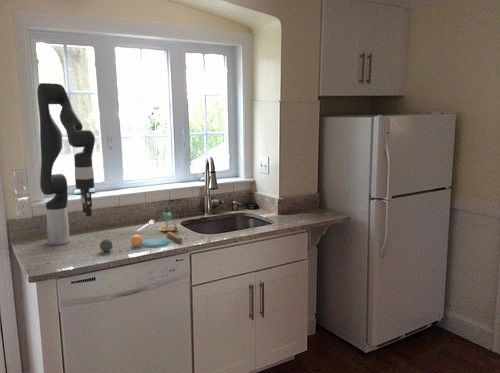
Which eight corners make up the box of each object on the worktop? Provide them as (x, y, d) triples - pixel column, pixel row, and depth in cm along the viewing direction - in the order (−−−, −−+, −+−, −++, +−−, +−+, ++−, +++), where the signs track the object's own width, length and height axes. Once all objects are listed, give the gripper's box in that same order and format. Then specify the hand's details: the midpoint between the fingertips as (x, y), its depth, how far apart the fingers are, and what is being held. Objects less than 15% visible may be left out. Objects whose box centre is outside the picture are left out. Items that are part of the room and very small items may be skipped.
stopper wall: (178, 243, 211) (178, 238, 211) (167, 236, 223) (167, 232, 222) (182, 243, 212) (181, 238, 212) (170, 236, 224) (170, 231, 223)
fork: (134, 232, 234) (134, 228, 234) (150, 222, 253) (149, 219, 253) (140, 232, 233) (140, 228, 233) (155, 222, 253) (155, 219, 252)
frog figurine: (165, 236, 225) (163, 207, 224) (154, 231, 240) (152, 205, 239) (183, 233, 230) (180, 205, 228) (171, 229, 245) (169, 202, 244)
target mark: (145, 249, 203) (145, 249, 203) (136, 241, 214) (136, 241, 214) (174, 244, 210) (174, 244, 210) (163, 237, 222) (163, 237, 222)
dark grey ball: (100, 253, 197) (99, 241, 196) (100, 250, 202) (99, 238, 201) (112, 252, 198) (112, 240, 197) (112, 248, 204) (112, 237, 203)
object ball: (130, 248, 204) (130, 237, 203) (130, 245, 209) (129, 233, 208) (143, 247, 206) (142, 236, 205) (142, 244, 211) (141, 232, 210)
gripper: (73, 176, 193) (75, 212, 196) (77, 179, 181) (80, 218, 183) (91, 174, 197) (93, 210, 199) (96, 178, 184) (99, 216, 187)
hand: (87, 214), depth 191 cm, fingers open, 8 cm apart
